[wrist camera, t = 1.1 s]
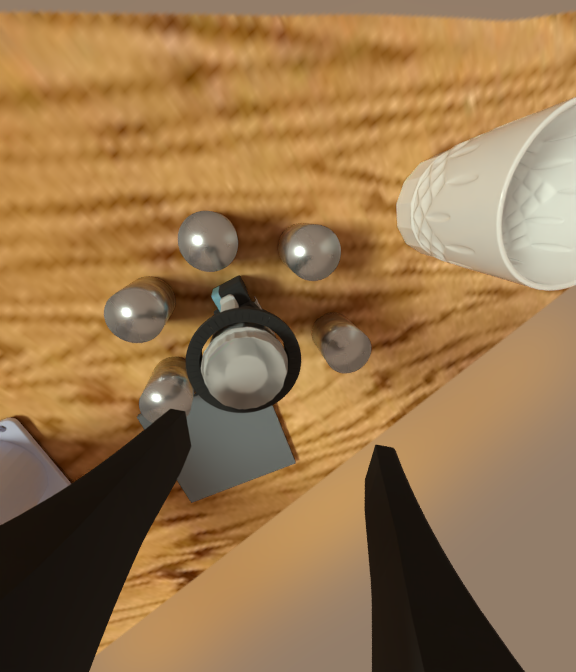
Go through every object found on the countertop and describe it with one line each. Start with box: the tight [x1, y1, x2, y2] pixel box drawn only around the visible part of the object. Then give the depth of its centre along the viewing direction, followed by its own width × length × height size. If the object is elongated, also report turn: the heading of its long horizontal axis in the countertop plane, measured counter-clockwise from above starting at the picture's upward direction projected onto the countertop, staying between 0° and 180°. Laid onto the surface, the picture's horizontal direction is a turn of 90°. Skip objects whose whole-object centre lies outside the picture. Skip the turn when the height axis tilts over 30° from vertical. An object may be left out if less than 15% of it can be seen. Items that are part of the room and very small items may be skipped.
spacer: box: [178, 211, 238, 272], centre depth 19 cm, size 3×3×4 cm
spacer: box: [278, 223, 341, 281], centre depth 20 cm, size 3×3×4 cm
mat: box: [137, 393, 295, 503], centre depth 26 cm, size 10×10×1 cm
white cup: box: [396, 97, 576, 290], centre depth 18 cm, size 8×8×10 cm
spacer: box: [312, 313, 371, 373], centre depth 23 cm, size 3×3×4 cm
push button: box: [186, 276, 301, 413], centre depth 18 cm, size 7×5×10 cm
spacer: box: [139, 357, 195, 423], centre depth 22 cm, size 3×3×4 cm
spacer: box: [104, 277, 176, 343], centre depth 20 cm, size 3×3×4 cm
